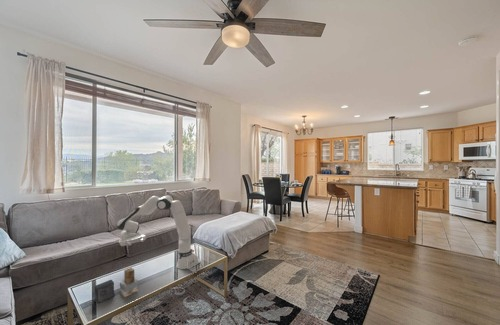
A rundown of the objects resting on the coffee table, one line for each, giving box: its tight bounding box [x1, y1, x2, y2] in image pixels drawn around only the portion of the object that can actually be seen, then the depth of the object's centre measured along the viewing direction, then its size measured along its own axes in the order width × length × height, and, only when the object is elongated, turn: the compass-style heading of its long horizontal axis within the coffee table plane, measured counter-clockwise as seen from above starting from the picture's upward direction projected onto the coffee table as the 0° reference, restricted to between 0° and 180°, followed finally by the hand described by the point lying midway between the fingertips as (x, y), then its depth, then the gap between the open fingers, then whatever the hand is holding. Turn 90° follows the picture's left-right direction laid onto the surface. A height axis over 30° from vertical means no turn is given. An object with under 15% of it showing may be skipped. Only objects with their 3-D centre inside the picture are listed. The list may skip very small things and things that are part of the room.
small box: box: [94, 279, 115, 304], centre depth 150 cm, size 11×6×10 cm, turn 141°
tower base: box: [119, 286, 139, 298], centre depth 158 cm, size 9×9×4 cm
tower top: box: [119, 278, 139, 292], centre depth 158 cm, size 9×9×4 cm
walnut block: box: [123, 267, 135, 284], centre depth 158 cm, size 5×5×9 cm
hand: (136, 242), depth 177 cm, fingers open, 8 cm apart
